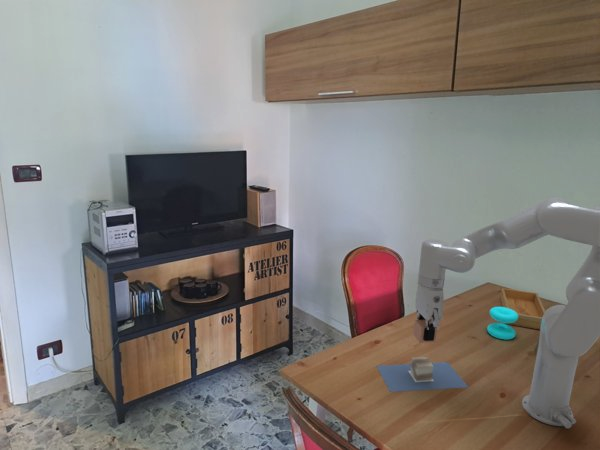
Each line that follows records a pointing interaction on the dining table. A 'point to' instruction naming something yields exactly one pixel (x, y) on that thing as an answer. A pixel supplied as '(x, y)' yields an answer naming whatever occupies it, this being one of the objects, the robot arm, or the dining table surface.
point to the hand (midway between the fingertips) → (424, 335)
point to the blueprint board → (405, 381)
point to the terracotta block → (421, 330)
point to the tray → (524, 307)
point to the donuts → (499, 328)
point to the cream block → (421, 368)
